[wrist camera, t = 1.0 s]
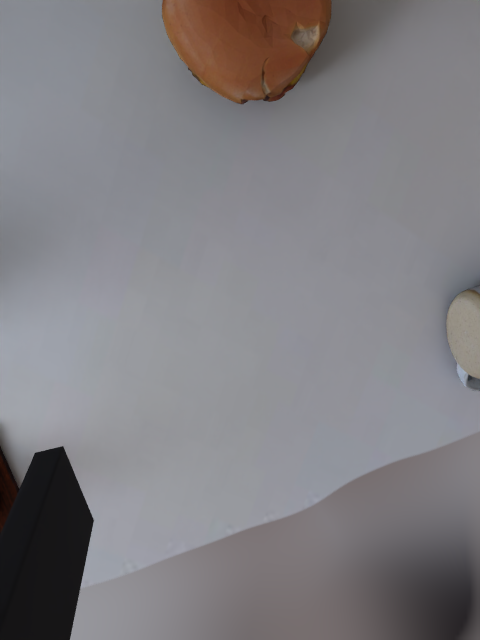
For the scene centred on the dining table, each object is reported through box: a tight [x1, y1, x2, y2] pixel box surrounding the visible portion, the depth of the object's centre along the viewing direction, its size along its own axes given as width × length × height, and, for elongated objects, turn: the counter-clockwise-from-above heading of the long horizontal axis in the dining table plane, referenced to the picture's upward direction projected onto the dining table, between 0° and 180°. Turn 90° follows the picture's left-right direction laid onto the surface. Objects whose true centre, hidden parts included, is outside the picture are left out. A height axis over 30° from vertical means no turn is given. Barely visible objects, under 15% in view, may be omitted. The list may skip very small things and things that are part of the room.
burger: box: [162, 0, 331, 104], centre depth 26 cm, size 10×9×5 cm
